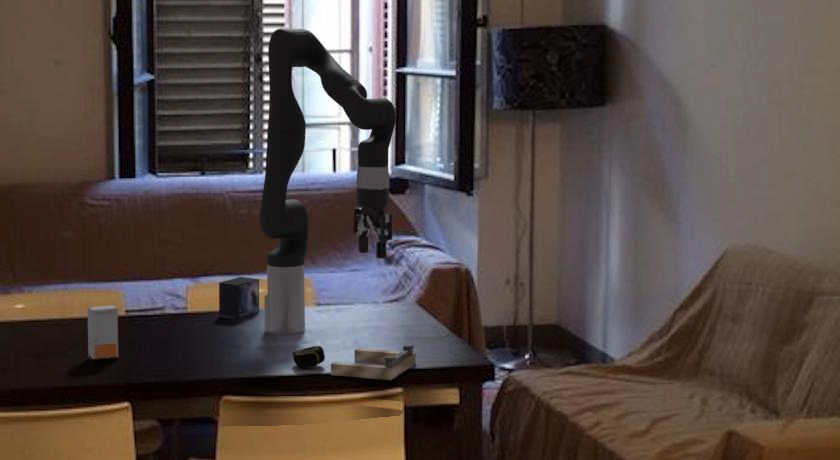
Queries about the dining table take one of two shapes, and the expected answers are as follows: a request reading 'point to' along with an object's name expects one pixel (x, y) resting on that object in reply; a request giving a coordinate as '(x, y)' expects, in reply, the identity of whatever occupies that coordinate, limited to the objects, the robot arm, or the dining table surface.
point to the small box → (238, 297)
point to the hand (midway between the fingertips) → (372, 255)
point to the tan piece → (393, 360)
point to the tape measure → (309, 357)
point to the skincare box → (102, 332)
